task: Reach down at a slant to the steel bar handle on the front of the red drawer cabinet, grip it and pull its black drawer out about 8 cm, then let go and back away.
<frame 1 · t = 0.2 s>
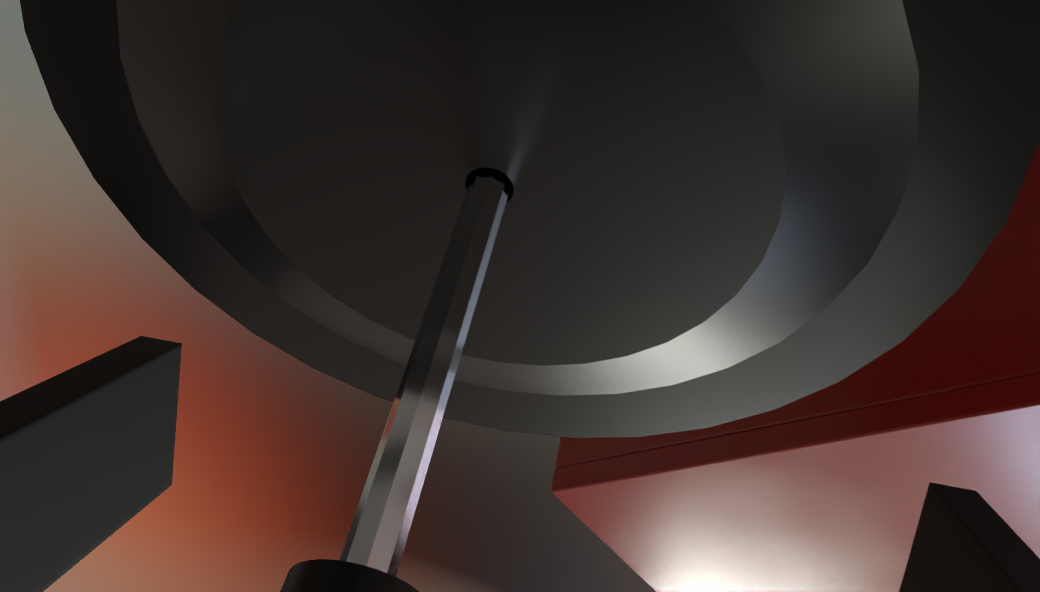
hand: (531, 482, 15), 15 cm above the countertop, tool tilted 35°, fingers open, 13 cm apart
red drawer cabinet: (880, 296, 31), on the countertop
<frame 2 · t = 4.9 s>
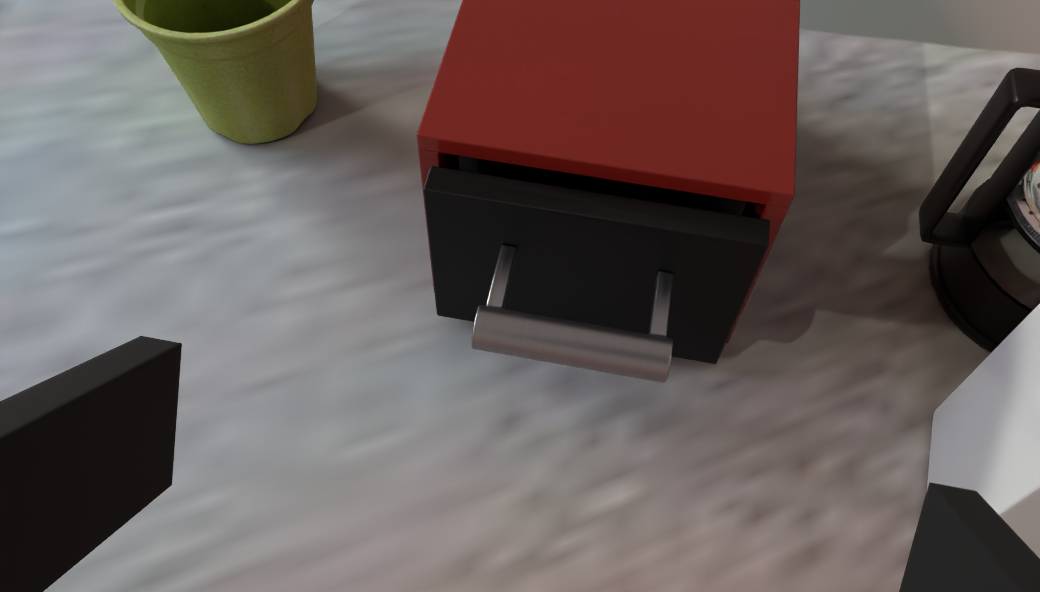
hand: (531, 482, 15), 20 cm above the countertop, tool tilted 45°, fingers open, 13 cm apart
milk carton: (1012, 514, 36), on the countertop
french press: (1016, 286, 42), on the countertop
plant pot: (260, 106, 47), on the countertop
red drawer cabinet: (602, 188, 44), on the countertop
black drawer: (600, 188, 37), point 5 cm above the countertop, slide at 0.5 cm
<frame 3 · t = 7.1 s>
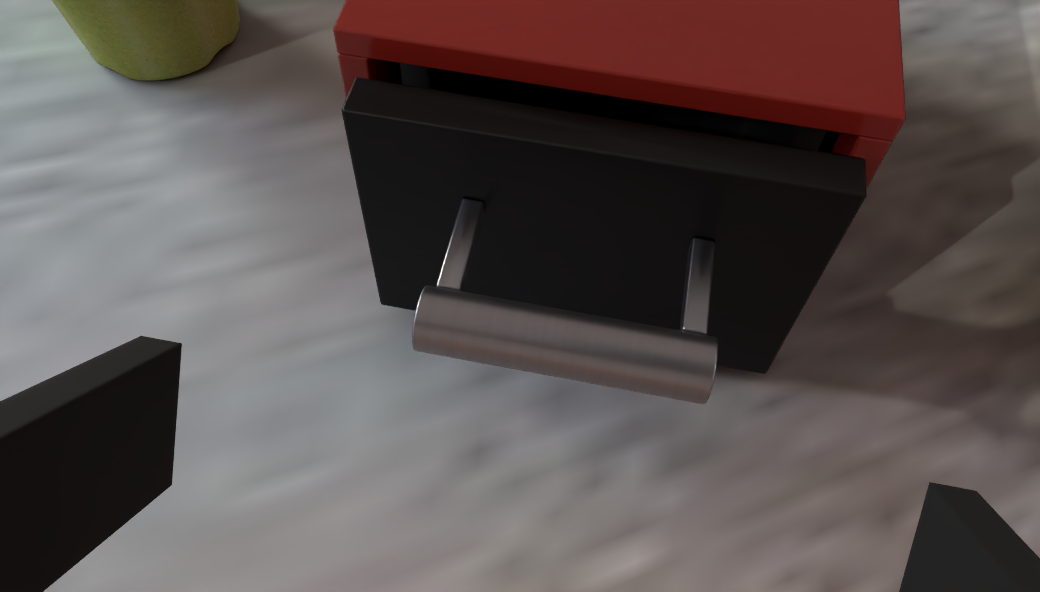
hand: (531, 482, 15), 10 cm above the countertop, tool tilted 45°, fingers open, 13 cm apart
plant pot: (165, 35, 36), on the countertop
red drawer cabinet: (607, 140, 34), on the countertop
black drawer: (606, 127, 27), point 5 cm above the countertop, slide at 0.5 cm
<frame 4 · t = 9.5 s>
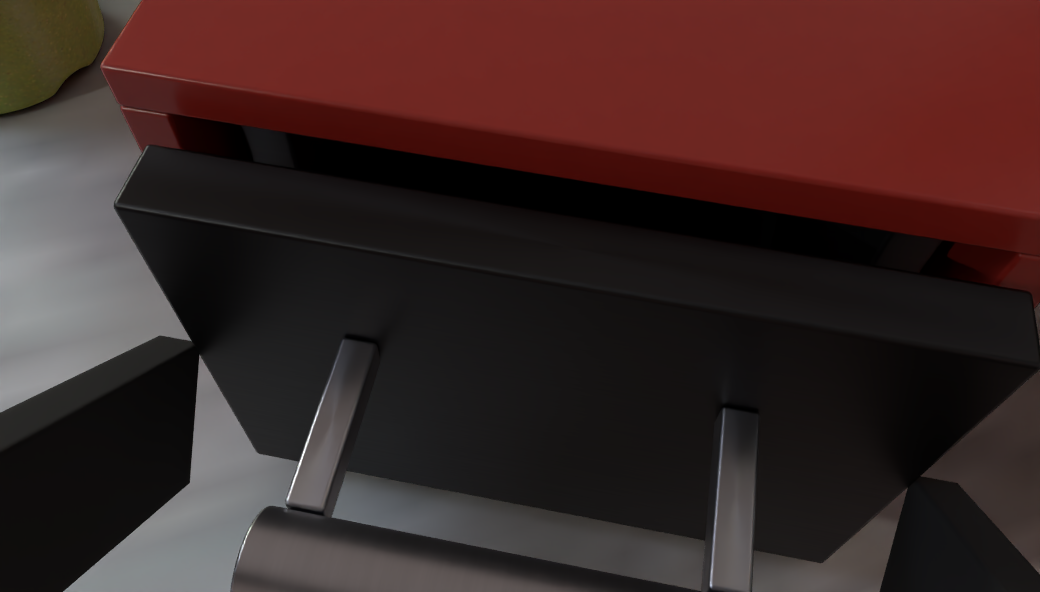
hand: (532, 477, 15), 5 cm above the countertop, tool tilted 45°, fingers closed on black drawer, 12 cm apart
plant pot: (5, 55, 27), on the countertop
red drawer cabinet: (591, 198, 25), on the countertop
black drawer: (585, 199, 18), point 5 cm above the countertop, slide at 0.4 cm, touching gripper
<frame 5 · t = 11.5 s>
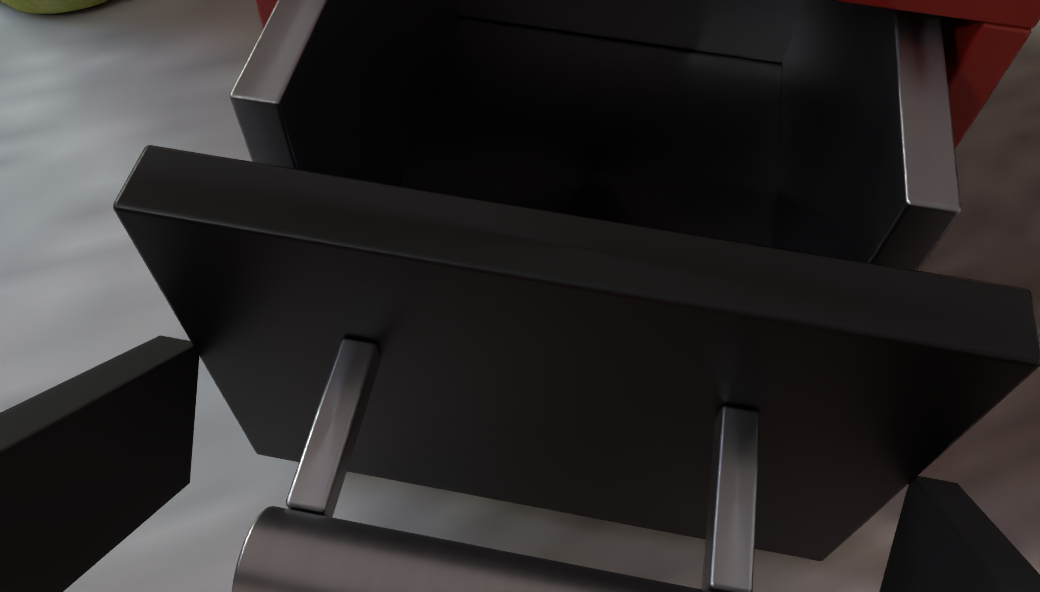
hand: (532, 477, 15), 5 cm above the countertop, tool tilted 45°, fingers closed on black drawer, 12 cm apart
red drawer cabinet: (611, 82, 27), on the countertop
black drawer: (583, 198, 18), point 5 cm above the countertop, slide at 5.1 cm, touching gripper
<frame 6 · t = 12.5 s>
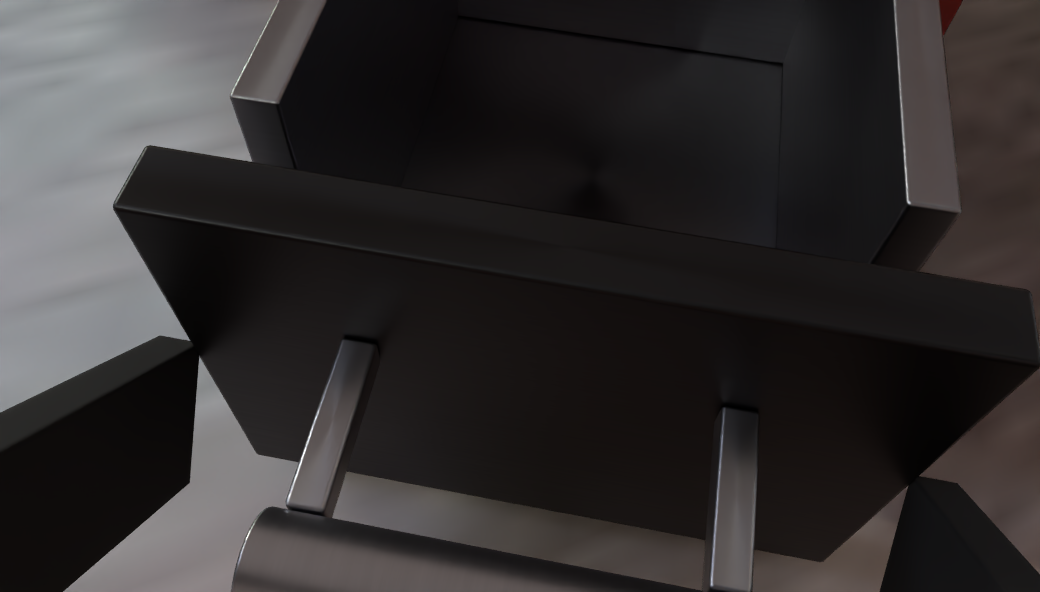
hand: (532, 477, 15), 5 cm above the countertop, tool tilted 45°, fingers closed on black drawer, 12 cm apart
red drawer cabinet: (624, 14, 29), on the countertop
black drawer: (584, 199, 18), point 5 cm above the countertop, slide at 8.3 cm, touching gripper
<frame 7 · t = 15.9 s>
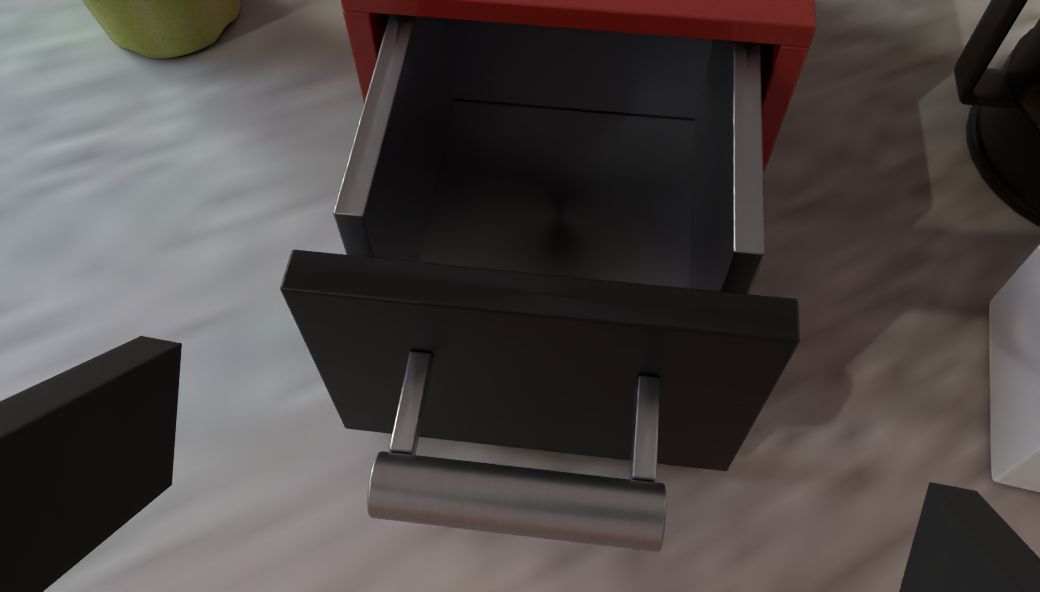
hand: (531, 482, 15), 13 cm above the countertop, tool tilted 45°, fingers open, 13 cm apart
plant pot: (175, 17, 40), on the countertop
red drawer cabinet: (578, 79, 38), on the countertop
black drawer: (552, 244, 27), point 5 cm above the countertop, slide at 8.3 cm
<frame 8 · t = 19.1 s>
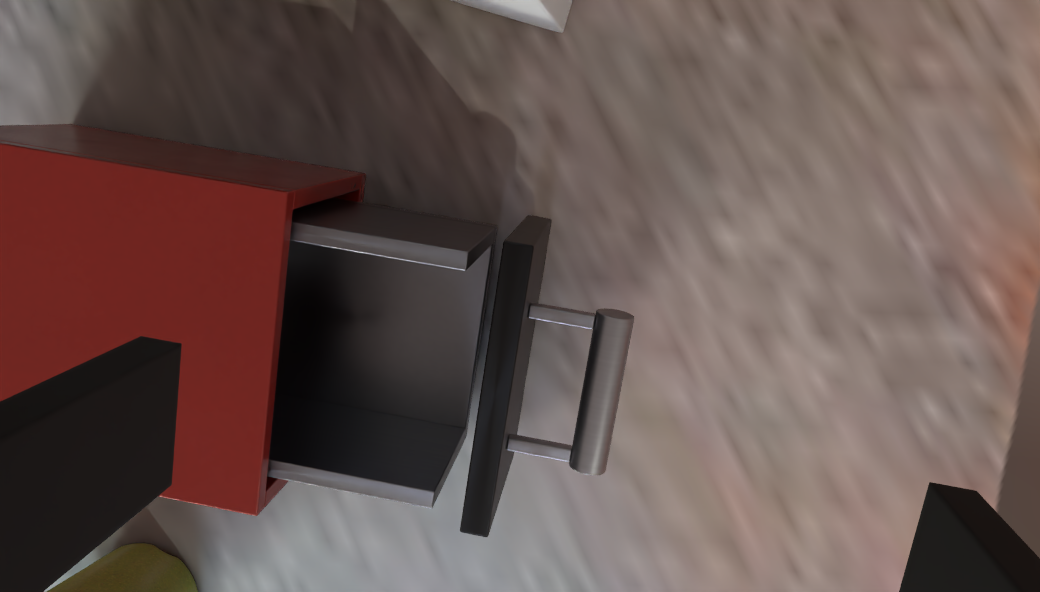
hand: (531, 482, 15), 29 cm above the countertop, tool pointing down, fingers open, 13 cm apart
plant pot: (151, 589, 50), on the countertop
red drawer cabinet: (206, 278, 46), on the countertop
black drawer: (412, 346, 40), point 5 cm above the countertop, slide at 8.3 cm
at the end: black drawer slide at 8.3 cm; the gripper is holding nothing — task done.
